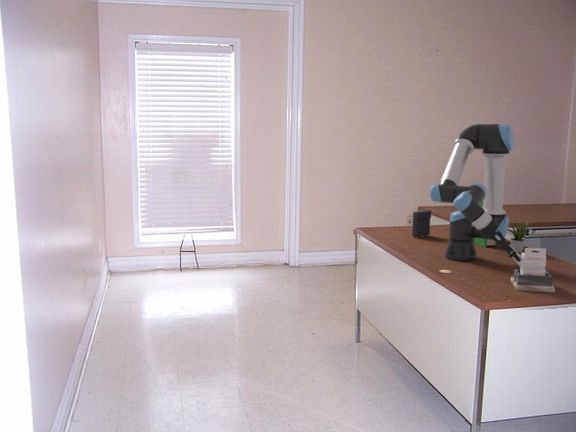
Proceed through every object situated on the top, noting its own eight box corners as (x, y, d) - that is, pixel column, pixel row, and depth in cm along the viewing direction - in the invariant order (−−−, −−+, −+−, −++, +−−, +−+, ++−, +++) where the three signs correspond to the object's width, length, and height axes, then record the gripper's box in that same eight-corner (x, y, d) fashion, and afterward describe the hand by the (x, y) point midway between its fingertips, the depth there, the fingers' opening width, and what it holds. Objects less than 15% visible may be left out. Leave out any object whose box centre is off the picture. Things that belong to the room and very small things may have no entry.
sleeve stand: (510, 280, 228) (511, 267, 227) (546, 282, 225) (547, 269, 224) (516, 290, 214) (517, 276, 213) (555, 292, 211) (556, 278, 210)
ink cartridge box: (541, 280, 221) (544, 245, 219) (544, 284, 216) (547, 248, 214) (519, 280, 223) (521, 245, 220) (522, 283, 218) (524, 247, 215)
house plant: (514, 246, 288) (516, 216, 286) (538, 251, 277) (540, 220, 274) (497, 250, 281) (499, 219, 278) (521, 255, 269) (523, 223, 267)
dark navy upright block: (424, 234, 319) (425, 209, 316) (430, 236, 315) (431, 210, 313) (411, 237, 313) (412, 211, 310) (416, 238, 309) (417, 212, 307)
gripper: (474, 224, 232) (508, 260, 232) (482, 236, 208) (520, 276, 208) (487, 212, 230) (522, 248, 230) (497, 223, 206) (536, 264, 206)
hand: (521, 262), depth 219 cm, fingers open, 13 cm apart
